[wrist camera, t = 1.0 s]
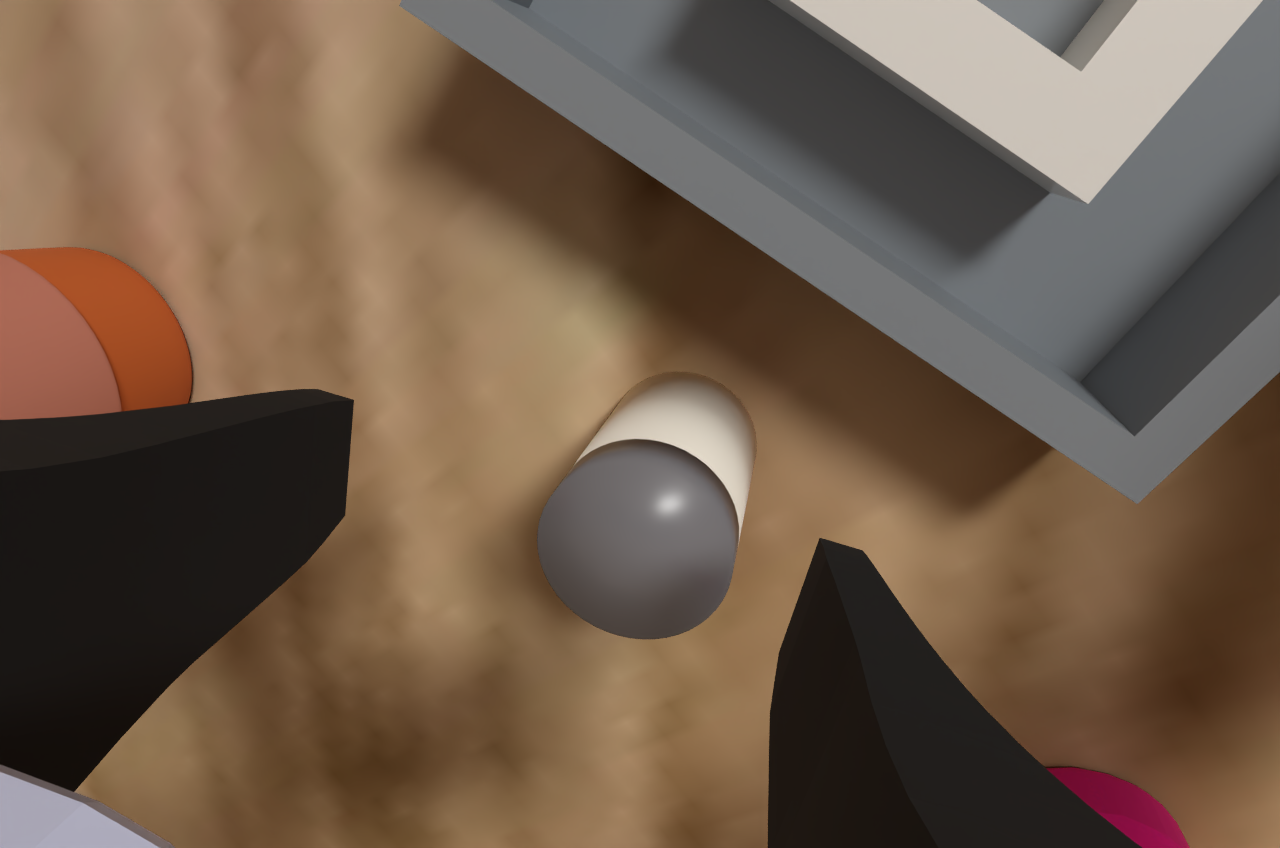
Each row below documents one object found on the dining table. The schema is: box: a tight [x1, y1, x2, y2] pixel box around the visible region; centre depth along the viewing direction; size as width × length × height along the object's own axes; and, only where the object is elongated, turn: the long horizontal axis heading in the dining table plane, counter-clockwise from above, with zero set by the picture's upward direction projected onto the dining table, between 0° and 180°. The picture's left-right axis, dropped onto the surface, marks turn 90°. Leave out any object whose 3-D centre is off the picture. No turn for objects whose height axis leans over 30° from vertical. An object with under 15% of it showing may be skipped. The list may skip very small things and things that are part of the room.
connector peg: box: [537, 372, 757, 639], centre depth 18 cm, size 4×4×6 cm
